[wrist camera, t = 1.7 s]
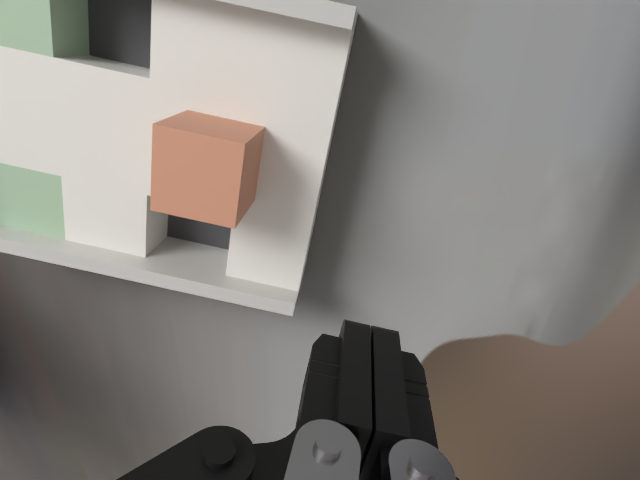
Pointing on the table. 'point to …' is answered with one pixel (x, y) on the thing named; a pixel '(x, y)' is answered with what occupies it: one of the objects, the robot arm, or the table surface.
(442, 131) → the table surface
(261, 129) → the block
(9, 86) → the box
